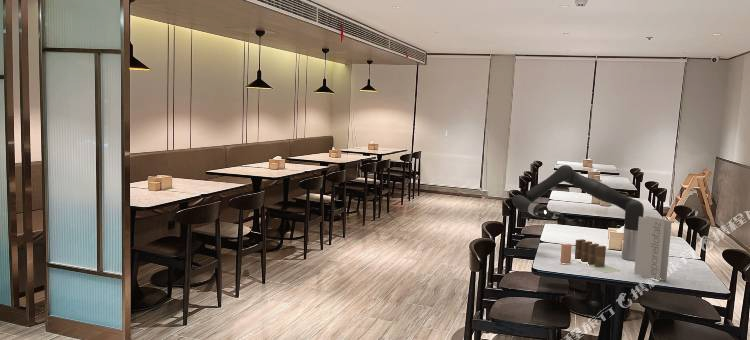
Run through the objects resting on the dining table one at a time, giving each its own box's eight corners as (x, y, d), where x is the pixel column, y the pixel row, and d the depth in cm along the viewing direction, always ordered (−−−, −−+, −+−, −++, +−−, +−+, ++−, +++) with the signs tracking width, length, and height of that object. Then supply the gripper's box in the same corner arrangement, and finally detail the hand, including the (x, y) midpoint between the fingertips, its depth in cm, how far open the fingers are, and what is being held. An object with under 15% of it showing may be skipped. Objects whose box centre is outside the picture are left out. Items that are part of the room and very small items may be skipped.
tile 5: (594, 266, 299) (595, 246, 298) (601, 265, 301) (603, 245, 300) (597, 267, 298) (598, 247, 296) (604, 266, 300) (606, 246, 298)
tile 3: (580, 261, 309) (582, 241, 307) (588, 260, 311) (589, 241, 309) (583, 262, 307) (585, 242, 306) (590, 261, 309) (592, 242, 308)
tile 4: (587, 263, 304) (589, 243, 303) (594, 263, 306) (596, 243, 305) (590, 264, 302) (591, 244, 301) (597, 264, 304) (599, 244, 303)
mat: (558, 255, 321) (558, 255, 321) (573, 254, 326) (573, 253, 325) (605, 273, 288) (605, 272, 288) (621, 271, 292) (622, 270, 292)
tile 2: (574, 259, 313) (575, 239, 312) (581, 258, 315) (583, 239, 314) (577, 260, 311) (578, 240, 310) (584, 259, 313) (585, 240, 312)
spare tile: (560, 264, 303) (561, 244, 302) (567, 263, 305) (569, 243, 304) (562, 265, 302) (564, 245, 300) (570, 264, 303) (571, 244, 302)
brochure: (634, 274, 289) (638, 216, 286) (641, 273, 291) (646, 215, 288) (659, 282, 276) (664, 221, 273) (666, 280, 279) (671, 221, 276)
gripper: (528, 203, 320) (548, 211, 305) (548, 203, 326) (568, 211, 311) (527, 216, 321) (546, 224, 306) (546, 216, 327) (566, 224, 312)
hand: (557, 217), depth 309 cm, fingers open, 8 cm apart
